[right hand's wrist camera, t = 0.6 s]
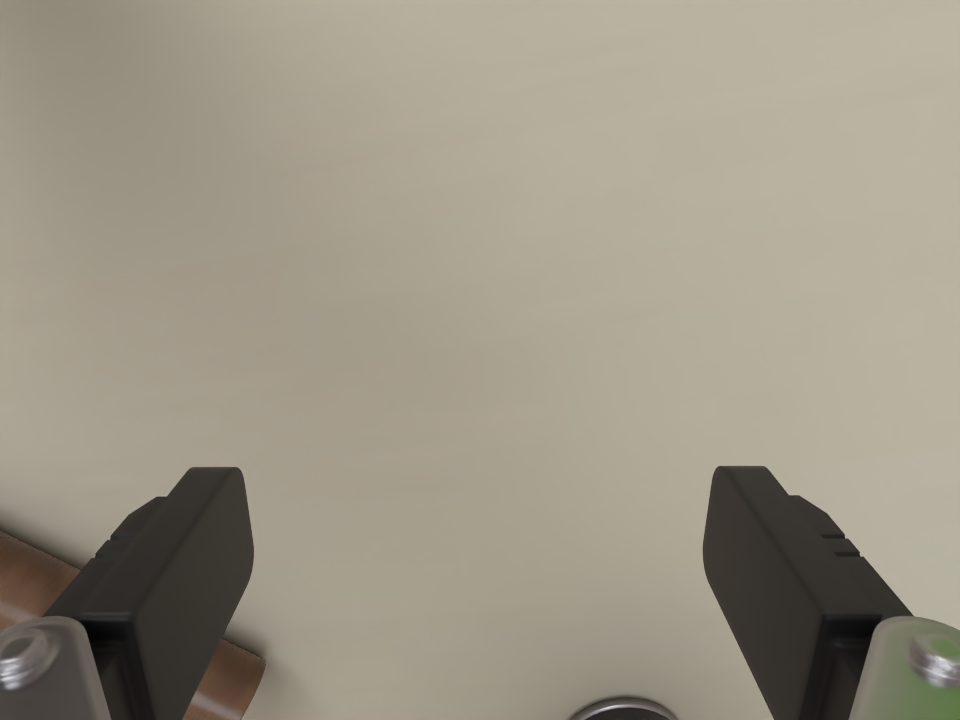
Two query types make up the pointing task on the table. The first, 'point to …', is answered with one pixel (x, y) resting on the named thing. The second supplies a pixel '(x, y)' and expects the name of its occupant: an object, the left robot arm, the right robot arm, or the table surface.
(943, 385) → the table surface
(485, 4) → the table surface
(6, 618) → the rod
